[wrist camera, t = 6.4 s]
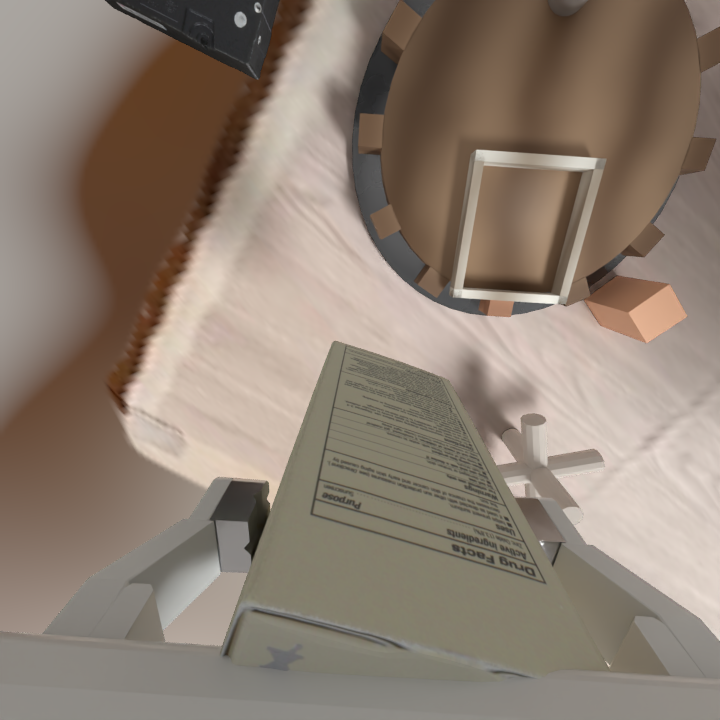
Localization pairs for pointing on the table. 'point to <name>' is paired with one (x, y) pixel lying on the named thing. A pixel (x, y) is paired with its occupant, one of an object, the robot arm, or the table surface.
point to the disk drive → (212, 26)
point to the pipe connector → (545, 465)
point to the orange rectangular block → (636, 307)
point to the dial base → (375, 199)
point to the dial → (534, 139)
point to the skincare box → (400, 545)
